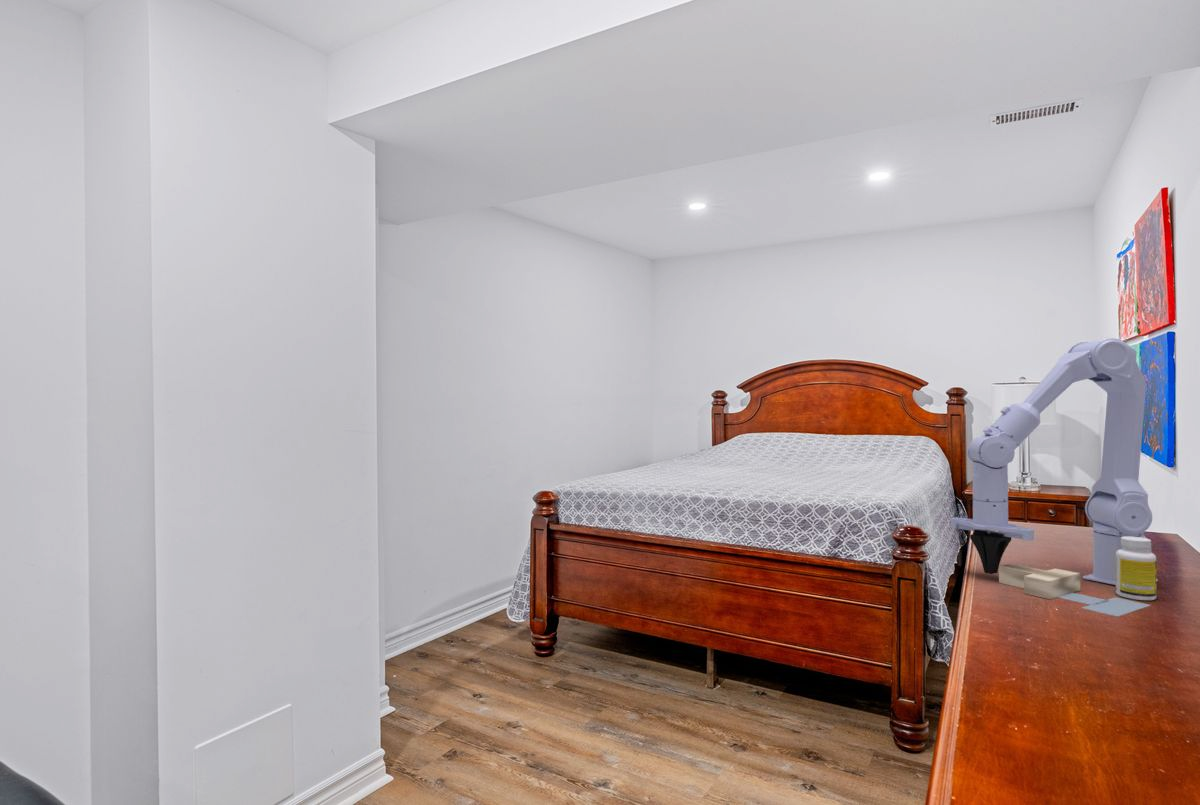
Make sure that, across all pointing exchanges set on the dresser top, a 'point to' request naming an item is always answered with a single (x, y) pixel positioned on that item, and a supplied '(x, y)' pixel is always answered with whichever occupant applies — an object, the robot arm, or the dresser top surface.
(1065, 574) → the maple t block
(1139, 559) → the supplement bottle
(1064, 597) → the slate t outline
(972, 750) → the dresser top surface
